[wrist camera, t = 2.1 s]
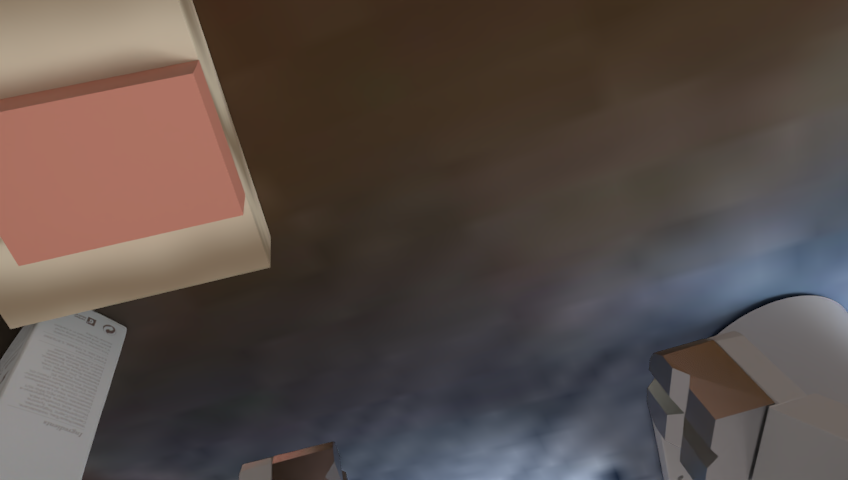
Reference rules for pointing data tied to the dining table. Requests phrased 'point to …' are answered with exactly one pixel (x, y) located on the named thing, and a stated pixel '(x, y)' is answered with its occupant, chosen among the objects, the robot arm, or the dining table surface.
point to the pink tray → (113, 163)
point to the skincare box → (55, 394)
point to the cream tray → (98, 59)
